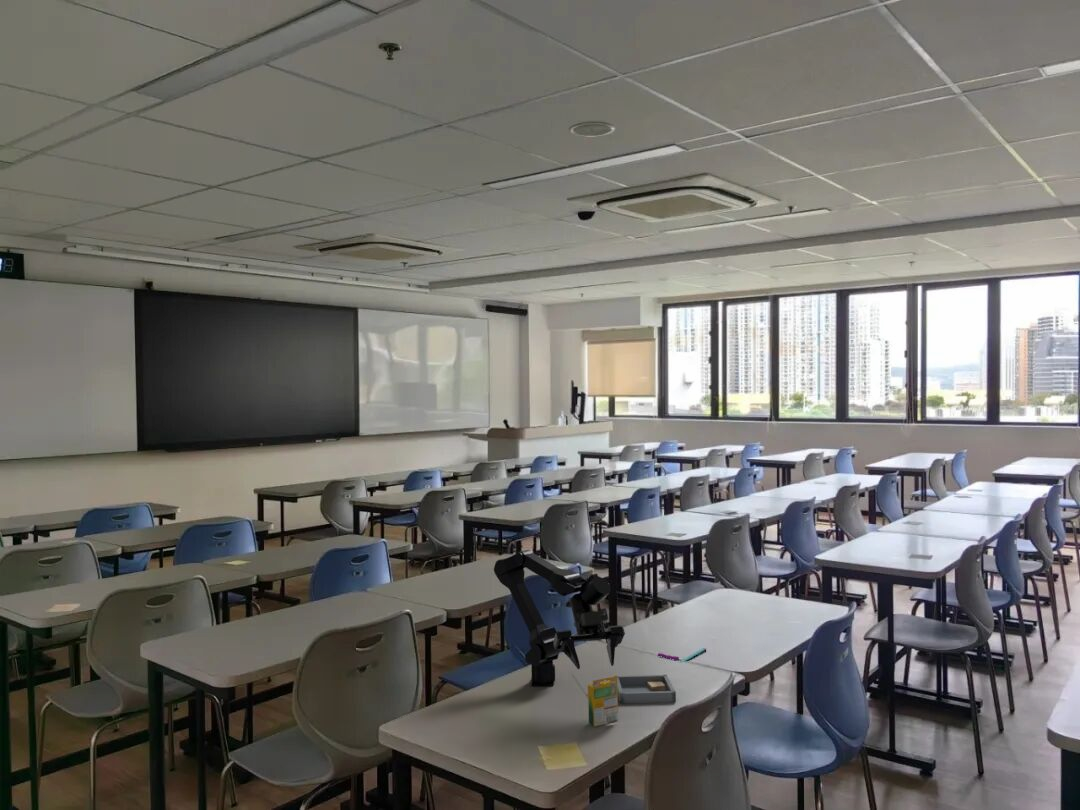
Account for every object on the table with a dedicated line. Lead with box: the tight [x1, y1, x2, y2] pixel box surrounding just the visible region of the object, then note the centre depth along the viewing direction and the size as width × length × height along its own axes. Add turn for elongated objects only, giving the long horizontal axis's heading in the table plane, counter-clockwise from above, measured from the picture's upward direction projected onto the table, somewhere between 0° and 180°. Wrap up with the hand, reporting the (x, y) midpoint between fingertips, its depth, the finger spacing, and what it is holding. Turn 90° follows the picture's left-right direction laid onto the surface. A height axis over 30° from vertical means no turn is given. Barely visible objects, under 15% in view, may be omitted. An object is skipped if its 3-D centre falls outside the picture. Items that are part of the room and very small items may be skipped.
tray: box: [613, 674, 677, 704], centre depth 220 cm, size 15×14×3 cm
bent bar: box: [657, 647, 707, 664], centre depth 250 cm, size 29×2×10 cm
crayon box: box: [587, 675, 619, 728], centre depth 202 cm, size 7×3×12 cm, turn 115°
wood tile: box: [647, 681, 666, 691], centre depth 223 cm, size 4×4×1 cm
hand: (596, 666), depth 208 cm, fingers open, 9 cm apart
